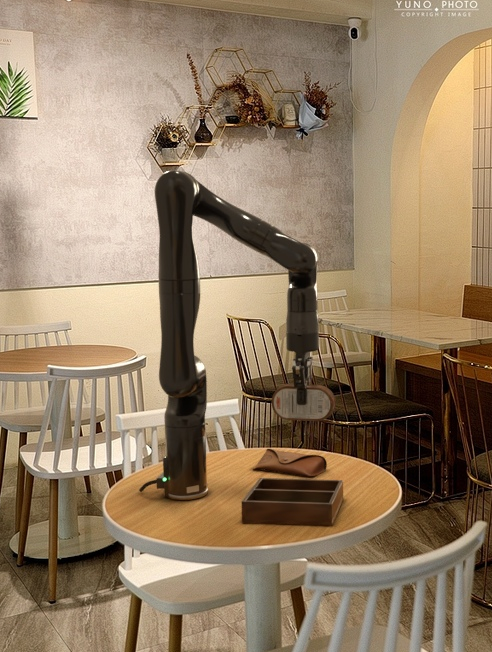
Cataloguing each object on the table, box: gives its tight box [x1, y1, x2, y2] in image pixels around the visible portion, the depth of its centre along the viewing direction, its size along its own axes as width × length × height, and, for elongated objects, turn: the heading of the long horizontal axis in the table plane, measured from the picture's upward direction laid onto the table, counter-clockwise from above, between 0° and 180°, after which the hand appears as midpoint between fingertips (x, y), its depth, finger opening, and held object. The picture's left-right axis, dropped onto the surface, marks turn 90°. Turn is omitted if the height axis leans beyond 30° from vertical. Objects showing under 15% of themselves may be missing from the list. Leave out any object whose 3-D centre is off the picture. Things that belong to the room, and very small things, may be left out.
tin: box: [271, 383, 337, 422], centre depth 204 cm, size 15×3×8 cm, turn 82°
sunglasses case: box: [252, 448, 328, 477], centre depth 225 cm, size 18×7×7 cm
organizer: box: [240, 477, 344, 527], centre depth 194 cm, size 20×16×5 cm
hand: (303, 402), depth 204 cm, fingers closed on tin, 3 cm apart
